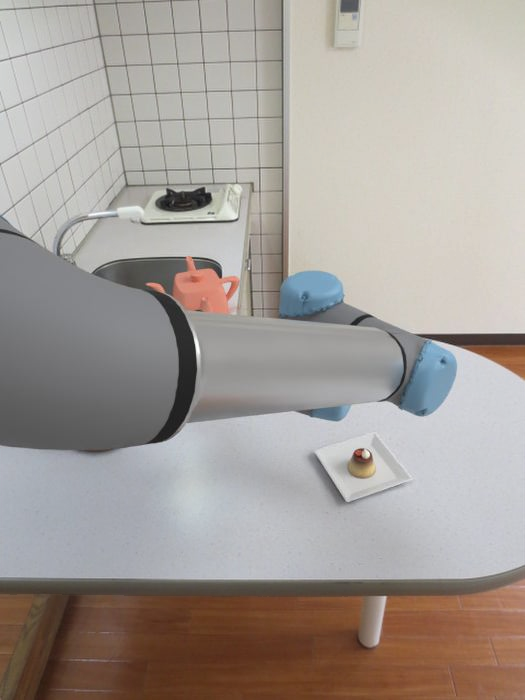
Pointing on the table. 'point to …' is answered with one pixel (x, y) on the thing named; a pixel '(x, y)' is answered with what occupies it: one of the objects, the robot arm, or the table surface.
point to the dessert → (362, 466)
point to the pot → (201, 289)
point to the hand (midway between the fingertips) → (123, 336)
